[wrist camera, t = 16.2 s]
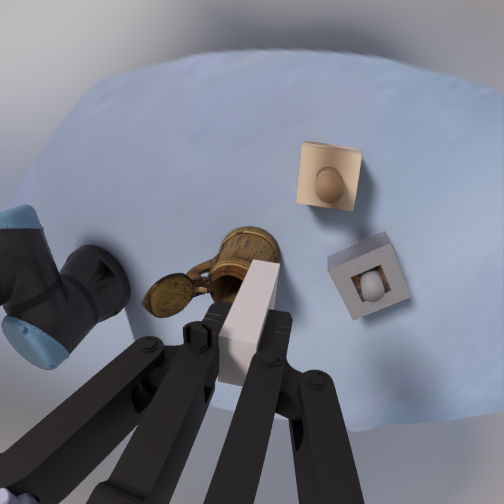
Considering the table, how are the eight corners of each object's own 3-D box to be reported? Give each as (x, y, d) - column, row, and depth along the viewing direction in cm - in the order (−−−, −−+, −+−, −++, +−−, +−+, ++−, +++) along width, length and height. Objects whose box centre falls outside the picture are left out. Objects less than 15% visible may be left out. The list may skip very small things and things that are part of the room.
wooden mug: (197, 214, 49) (137, 270, 33) (284, 233, 47) (262, 302, 31) (193, 265, 53) (142, 332, 37) (274, 284, 51) (249, 364, 35)
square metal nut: (351, 304, 47) (353, 320, 44) (327, 256, 45) (327, 270, 41) (405, 282, 44) (411, 296, 40) (385, 231, 41) (390, 242, 38)
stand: (299, 190, 44) (292, 216, 34) (304, 141, 41) (299, 151, 31) (349, 198, 43) (356, 226, 33) (356, 148, 40) (367, 161, 30)
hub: (339, 281, 48) (341, 311, 41) (348, 238, 45) (352, 263, 38) (383, 287, 47) (391, 317, 40) (395, 245, 44) (406, 271, 37)
